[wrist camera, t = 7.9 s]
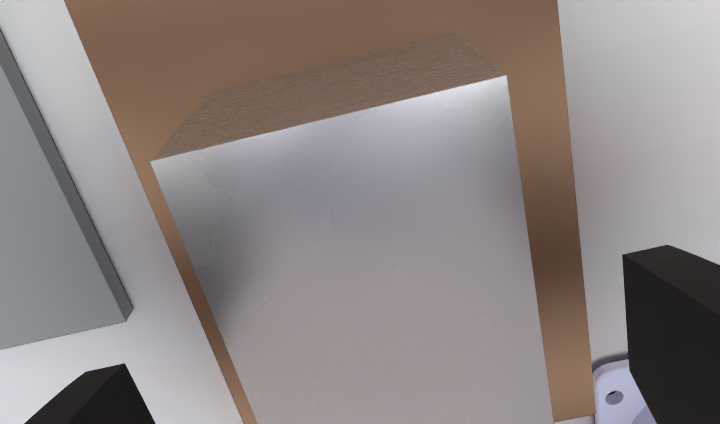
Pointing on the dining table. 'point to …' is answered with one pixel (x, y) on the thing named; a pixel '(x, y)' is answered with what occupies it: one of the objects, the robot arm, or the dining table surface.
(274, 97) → the light grey block
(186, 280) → the brown wooden board
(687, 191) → the dining table surface
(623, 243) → the dining table surface
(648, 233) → the dining table surface
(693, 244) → the dining table surface
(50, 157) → the mat
